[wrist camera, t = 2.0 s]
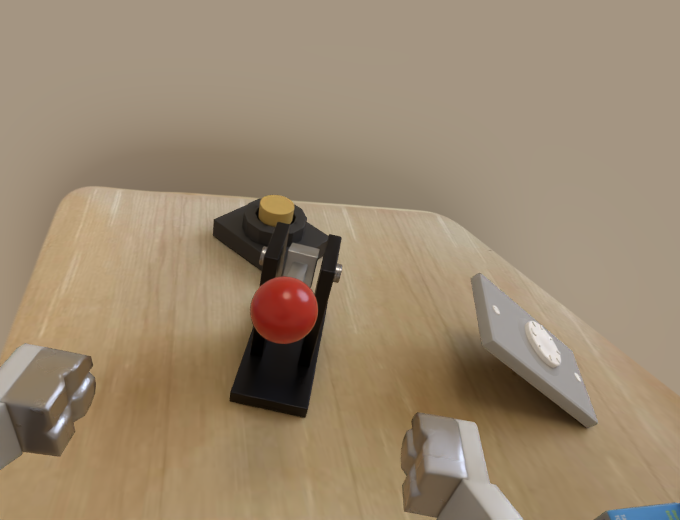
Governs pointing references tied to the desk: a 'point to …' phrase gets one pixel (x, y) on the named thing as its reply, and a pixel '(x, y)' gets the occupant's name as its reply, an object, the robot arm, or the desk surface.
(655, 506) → the label tape box
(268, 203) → the button
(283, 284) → the lever
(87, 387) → the robot arm
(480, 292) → the light switch
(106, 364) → the desk surface
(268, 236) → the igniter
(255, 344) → the gas tap
